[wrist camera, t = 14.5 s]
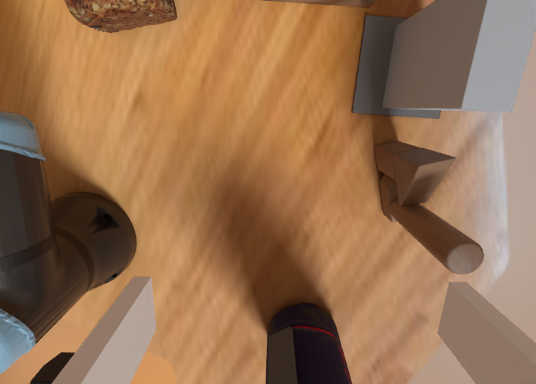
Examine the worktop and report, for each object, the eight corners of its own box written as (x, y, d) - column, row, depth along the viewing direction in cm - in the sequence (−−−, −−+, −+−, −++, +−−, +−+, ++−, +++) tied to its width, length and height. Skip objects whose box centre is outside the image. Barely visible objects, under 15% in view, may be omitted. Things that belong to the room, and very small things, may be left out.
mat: (351, 112, 41) (352, 112, 41) (365, 16, 38) (366, 15, 38) (437, 118, 41) (439, 118, 41) (458, 22, 38) (460, 21, 38)
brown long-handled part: (398, 140, 42) (483, 164, 25) (406, 209, 45) (487, 273, 28) (372, 146, 43) (438, 173, 25) (382, 214, 46) (447, 280, 28)
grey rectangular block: (395, 26, 38) (496, -40, 21) (427, 28, 38) (554, -36, 21) (382, 107, 41) (461, 108, 23) (411, 109, 41) (511, 112, 23)
